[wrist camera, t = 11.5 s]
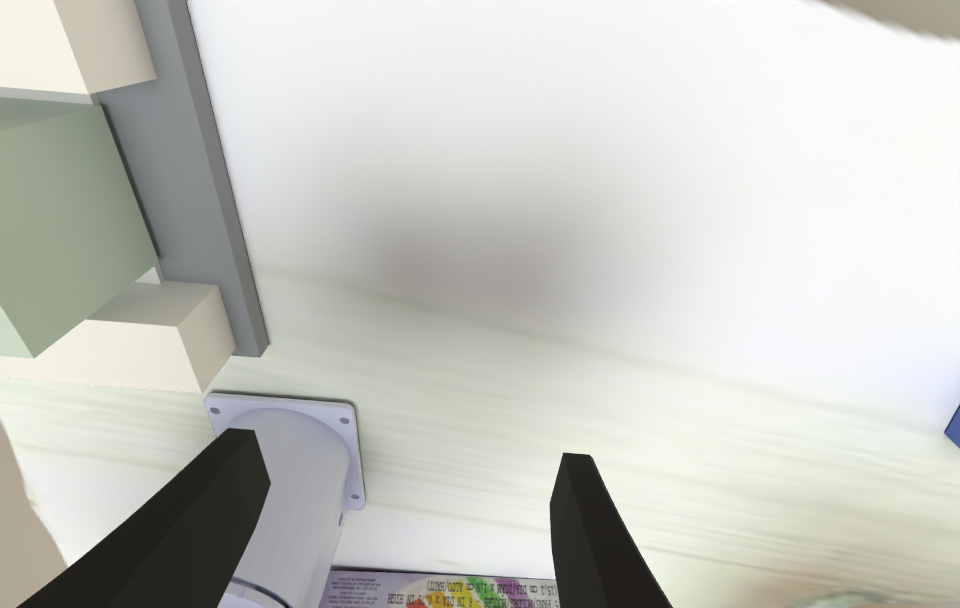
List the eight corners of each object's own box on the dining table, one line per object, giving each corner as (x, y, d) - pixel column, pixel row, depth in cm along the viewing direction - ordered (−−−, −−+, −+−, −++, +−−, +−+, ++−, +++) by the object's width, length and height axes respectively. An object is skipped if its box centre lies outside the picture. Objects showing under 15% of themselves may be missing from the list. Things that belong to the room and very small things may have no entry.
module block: (159, 262, 18) (25, 365, 13) (61, 254, 18) (-113, 354, 13) (100, 105, 15) (-110, 160, 10) (-20, 95, 15) (-295, 145, 10)
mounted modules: (236, 347, 21) (202, 393, 19) (66, 334, 21) (8, 378, 19) (123, -35, 13) (37, -43, 11) (-153, -60, 13) (-306, -73, 11)
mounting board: (268, 344, 22) (257, 361, 21) (66, 328, 22) (44, 345, 21) (178, -31, 14) (151, -33, 13) (-147, -59, 14) (-202, -64, 13)
